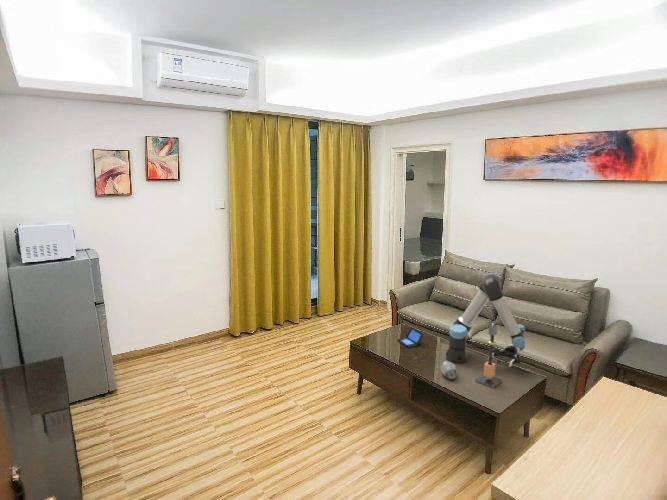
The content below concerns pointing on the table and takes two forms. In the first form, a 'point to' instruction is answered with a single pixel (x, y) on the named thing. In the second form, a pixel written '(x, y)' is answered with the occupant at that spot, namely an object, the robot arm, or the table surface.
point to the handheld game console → (411, 338)
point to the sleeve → (489, 370)
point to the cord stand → (490, 361)
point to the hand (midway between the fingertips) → (499, 361)
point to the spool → (448, 370)
